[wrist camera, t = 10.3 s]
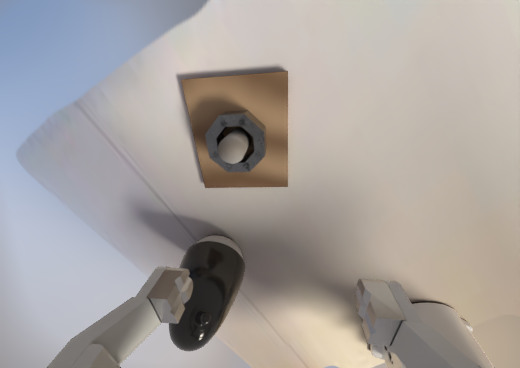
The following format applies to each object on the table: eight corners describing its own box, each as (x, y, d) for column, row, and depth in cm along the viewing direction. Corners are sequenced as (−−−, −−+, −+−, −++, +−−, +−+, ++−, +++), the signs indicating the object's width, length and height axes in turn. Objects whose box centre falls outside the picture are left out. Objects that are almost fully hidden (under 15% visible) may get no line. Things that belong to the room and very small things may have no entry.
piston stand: (287, 183, 28) (289, 206, 22) (207, 184, 29) (191, 207, 24) (287, 71, 21) (290, 67, 16) (185, 79, 23) (156, 78, 17)
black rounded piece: (259, 242, 34) (246, 348, 20) (232, 273, 38) (206, 376, 25) (207, 215, 32) (155, 311, 18) (185, 251, 36) (130, 349, 23)
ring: (267, 162, 25) (266, 171, 23) (219, 163, 26) (212, 172, 23) (264, 109, 22) (262, 112, 20) (210, 112, 23) (201, 116, 20)
